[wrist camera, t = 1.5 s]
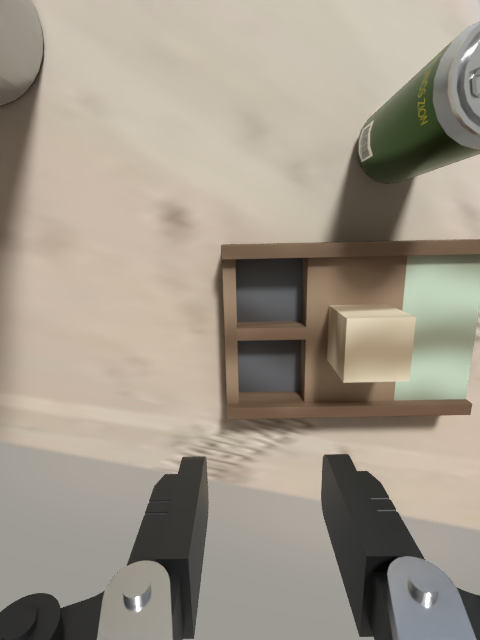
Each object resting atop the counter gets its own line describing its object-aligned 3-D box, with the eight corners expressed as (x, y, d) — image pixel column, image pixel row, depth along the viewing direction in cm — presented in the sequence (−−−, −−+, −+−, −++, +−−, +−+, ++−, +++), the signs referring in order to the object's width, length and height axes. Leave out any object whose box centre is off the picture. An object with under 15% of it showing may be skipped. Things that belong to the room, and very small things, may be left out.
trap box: (223, 244, 28) (221, 245, 25) (467, 239, 28) (497, 239, 24) (228, 400, 31) (226, 419, 28) (446, 396, 31) (470, 414, 28)
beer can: (359, 192, 27) (451, 157, 15) (348, 119, 26) (439, 19, 14) (427, 175, 27) (574, 126, 15) (419, 100, 25) (573, -17, 14)
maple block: (329, 305, 26) (346, 318, 22) (386, 304, 26) (416, 317, 22) (326, 359, 27) (343, 382, 23) (382, 358, 27) (409, 381, 23)
